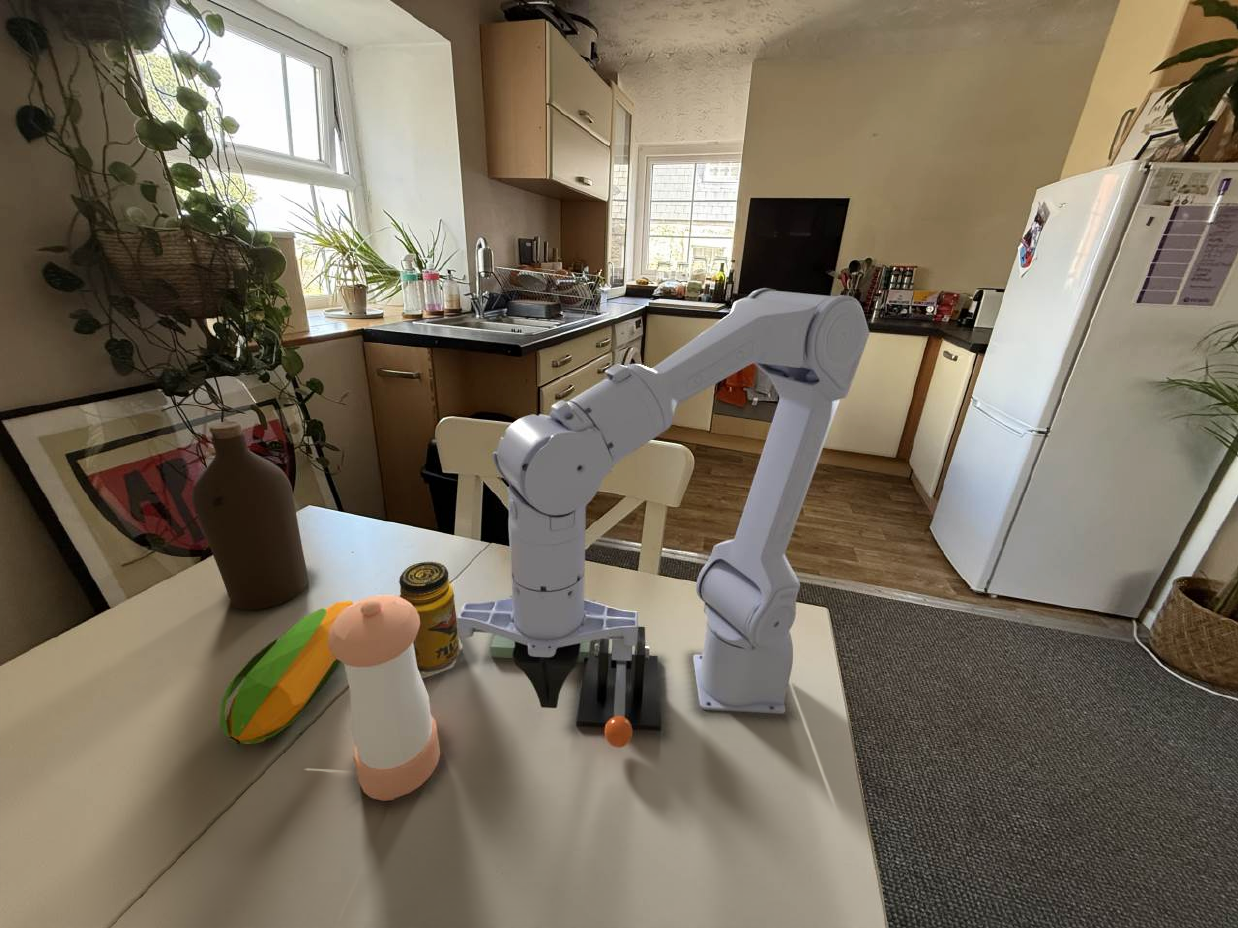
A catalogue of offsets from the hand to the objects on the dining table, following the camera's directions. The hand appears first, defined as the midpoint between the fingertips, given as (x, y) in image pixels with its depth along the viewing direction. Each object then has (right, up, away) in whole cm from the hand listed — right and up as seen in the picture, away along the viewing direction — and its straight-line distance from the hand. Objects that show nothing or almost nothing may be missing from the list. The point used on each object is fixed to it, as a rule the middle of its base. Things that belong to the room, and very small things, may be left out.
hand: (550, 698), depth 44 cm
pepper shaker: (-15, -9, +4) cm, 18 cm away
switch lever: (+6, -4, +9) cm, 12 cm away
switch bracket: (+6, -6, +13) cm, 16 cm away
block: (-4, -2, +22) cm, 22 cm away
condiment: (-18, -3, +17) cm, 25 cm away
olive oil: (-44, +2, +28) cm, 52 cm away
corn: (-30, -4, +13) cm, 33 cm away
